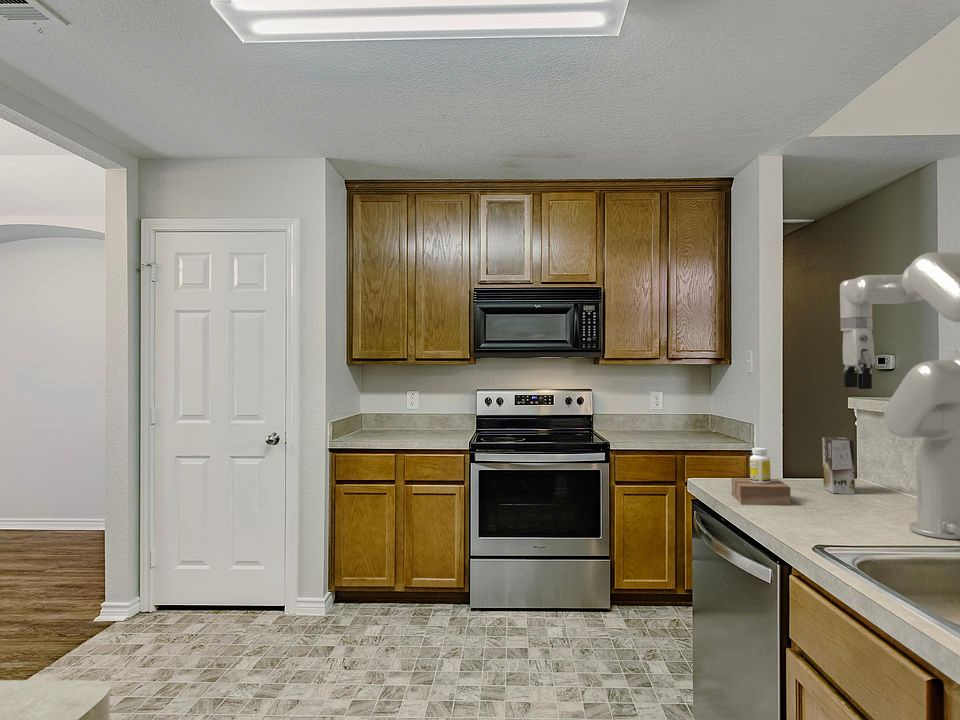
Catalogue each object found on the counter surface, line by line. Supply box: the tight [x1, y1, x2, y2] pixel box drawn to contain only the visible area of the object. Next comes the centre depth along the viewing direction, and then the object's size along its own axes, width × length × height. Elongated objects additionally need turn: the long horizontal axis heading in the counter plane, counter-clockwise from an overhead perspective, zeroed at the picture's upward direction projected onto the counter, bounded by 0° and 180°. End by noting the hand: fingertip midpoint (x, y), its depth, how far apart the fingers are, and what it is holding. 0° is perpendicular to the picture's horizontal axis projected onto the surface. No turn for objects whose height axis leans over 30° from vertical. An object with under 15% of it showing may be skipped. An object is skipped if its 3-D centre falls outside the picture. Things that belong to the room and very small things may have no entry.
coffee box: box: [821, 436, 856, 495], centre depth 199 cm, size 9×6×16 cm
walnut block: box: [731, 477, 792, 506], centre depth 189 cm, size 13×13×5 cm
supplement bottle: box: [749, 447, 772, 484], centre depth 189 cm, size 5×5×10 cm
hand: (857, 388), depth 178 cm, fingers open, 9 cm apart
